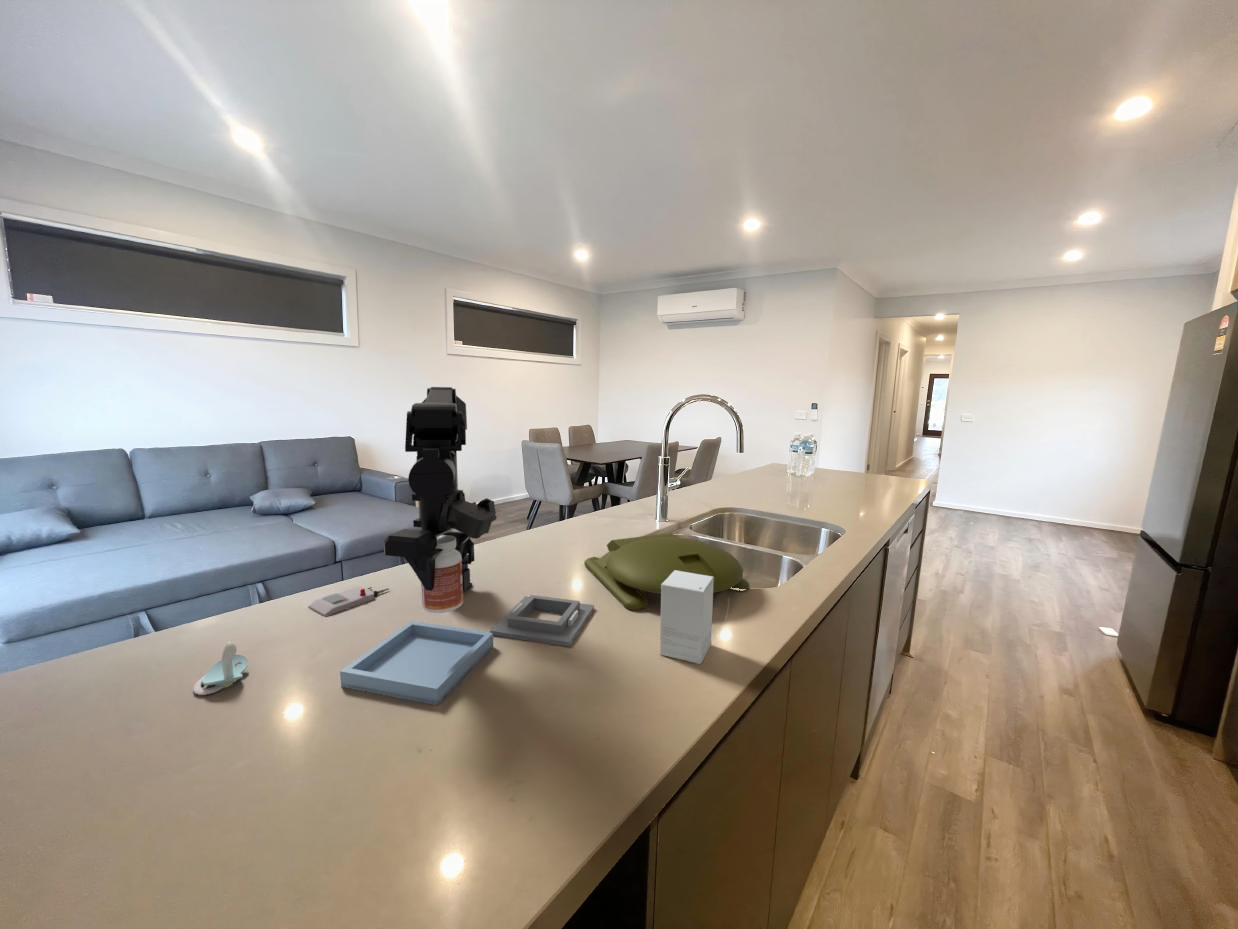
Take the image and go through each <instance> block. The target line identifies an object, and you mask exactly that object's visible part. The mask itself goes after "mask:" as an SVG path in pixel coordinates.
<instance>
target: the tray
mask: <svg viewBox="0 0 1238 929" xmlns="http://www.w3.org/2000/svg"><path fill="white" fill-rule="evenodd" d="M493 648H494V635H493V633H490V631H489V632H488V631H480V630H474V629H468V628H461V627H455V626H447V625H440V624H434V623H429V622H428V623H427V622H419V621H413V620H411V621H409V622H407V623H406V624H405V625H403V626H402V627H401V628H398V630H396V631H395V632H393V633H392V634H391V635H389V636H388V637H387V638H385V639H384V640H382V641H381V642H379V643H377V645H375V646H374V647H372V648H371V649H369V650H367V651H366V652H365V653H364V654H362V655H361V656H359V657H358V658H357V659H355V660H354V661H352V662H351V663H349V664H348V665H347V666H345V667H344V668H343V669H341V670H340V671H339V674H340V675H339V677H340V687H341V688H344V687H345V689H350V688H352V689H351V690H355V689H357V690H356V691H360V690H364V691H363V692H365V691H367V693H371V694H376V693H378V694H377V695H381V694H382V695H383V696H386V695H387V697H392V698H398V699H403V700H408V701H413V702H418V703H423V704H429V705H433V706H434V705H435V706H439V705H440V703H441V702H442V701H443V700H444V699H445V698H446V697H447V696H448V695H449V693H451V692H452V691H453V689H455V688H456V686H457V685H458V684H460V683H461V681H462V680H464V678H465V677H466V676H467V675H468V674H469V673H470V672H471V671H472V670H473V669H474V668H475V667H476V666H477V665H478V663H480V661H481V660H482V659H483V658H484V657H485V656H486V655H487V654H488V653H489V652H490V651H491V650H492V649H493ZM382 695H381V696H382Z"/></svg>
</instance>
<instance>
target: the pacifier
mask: <svg viewBox="0 0 1238 929" xmlns="http://www.w3.org/2000/svg"><path fill="white" fill-rule="evenodd" d="M236 653H237V645H236V644H235V642H233V641H230V640H228V641H227V642H226V643H225V645H224V648H223V651H222V655H221V658H220V659H221V660H220V661H218V662H217V663H216V664H214V665H213V666H212V667H211V668H210V669H209V670H208V672H207V673H206V674H205V675H203V676H202V677H201V678H199V679H198V680H197V681H196V682H195V684H194V686H193V692H194V693H195V695H197V694H198V696H205V695H206V696H207V694H208V695H210V694H214V693H216V692H219V690H223V689H224V688H223V687H226V686H229V685H231V684H232V683H233V682H234V681H235V680H236V681H237V680H239V679H242V678H243V673H244V672H245V671H246V669H247V668H248V664H249V663H248V659H247V657H246V656H244V655H241V654H236ZM238 665H239V666H238ZM202 684H203V685H202ZM204 685H205V686H213V685H214V687H210V688H203V686H204ZM232 685H233V684H232ZM232 685H231V686H232ZM201 686H202V687H201ZM229 687H230V686H229ZM222 688H223V689H222Z"/></svg>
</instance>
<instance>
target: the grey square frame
mask: <svg viewBox="0 0 1238 929" xmlns="http://www.w3.org/2000/svg"><path fill="white" fill-rule="evenodd" d="M535 610H536V611H545V612H551V613H559V614H562V615H561V616H560V618H559V619H558V620H557V621H555V620H548V619H541V618H533V617H529V615H531V613H532V612H533V611H535ZM594 610H595V605H594V604H589V603H582V602H581V601H580V600H575V599H574V600H573V599H565V598H557V597H551V596H542V595H535V594H534V595H533V594H530V595H529V596H524V597H523V598H522V599H521V600H519V602H518V603H516V605H515V606H514V607H512V609H511V610H510V611H508V612H507V614H505V615H504V617H503V618H501V620H499V621H498V622H497V623H496V624H495V625H494V626H493V627H492V628H491V629H490V631H489V633H493V637H494V636H496V637H500V638H501V637H502V638H509V639H514V640H515V639H517V640H522V641H523V640H524V641H530V642H535V643H541V644H550V645H556V646H563V647H568V648H569V647H570V646H571V645H572V643H573V642H574V640H575V639H576V637H577V636H578V634H579V632H581V630H582V628H583V626H584V625H585V624H586V622H587V621H588V619H589V618H590V616H592V615H591V614H592V613H593V611H594Z"/></svg>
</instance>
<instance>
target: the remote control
mask: <svg viewBox="0 0 1238 929" xmlns="http://www.w3.org/2000/svg"><path fill="white" fill-rule="evenodd" d="M372 590H373V589H372V587H371V586H370V587H363V586H353V587H350V588H348V589H344V590H342V591H339V592H335V593H333V594H330V595H327V596H323V597H320V598H317V599H315V600H314V601H313V602H311V603H310V604H309V605H308V606H307V607H308V609H309V608H310V609H309V610H311V609H312V610H311V611H313V610H314V611H313V612H315V613H317V612H318V613H319V615H320V614H321V616H322V615H323V616H322V617H324V616H326V617H328V616H327V615H329V616H331V615H334V614H336V613H335V612H337V613H340V612H342V611H345V610H348V609H351V608H353V606H354V607H356V606H359V605H361V604H364V603H367V601H368V602H371V601H373V600H374V599H375V597H376V596H378V595H379V594H381V593H384V592H386V591H388V590H390V588H389V587H387V588H385V589H381V590H373V591H372ZM358 604H359V605H358ZM355 605H356V606H355ZM350 607H351V608H350ZM347 608H348V609H347ZM344 609H345V610H344ZM341 610H342V611H341ZM339 611H340V612H339ZM318 613H317V614H318ZM333 613H334V614H333ZM330 614H331V615H330Z"/></svg>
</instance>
